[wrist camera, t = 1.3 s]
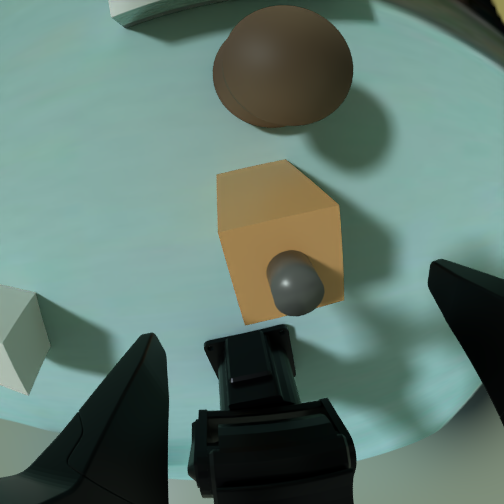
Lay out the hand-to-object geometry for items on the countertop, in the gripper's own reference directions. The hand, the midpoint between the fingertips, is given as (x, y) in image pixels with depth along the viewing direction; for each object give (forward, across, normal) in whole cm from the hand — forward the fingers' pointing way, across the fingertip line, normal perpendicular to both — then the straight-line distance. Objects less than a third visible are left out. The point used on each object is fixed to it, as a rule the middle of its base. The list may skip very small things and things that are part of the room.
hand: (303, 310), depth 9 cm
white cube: (+10, +22, +4) cm, 25 cm away
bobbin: (+10, -2, -7) cm, 12 cm away
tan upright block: (+10, 0, 0) cm, 10 cm away
